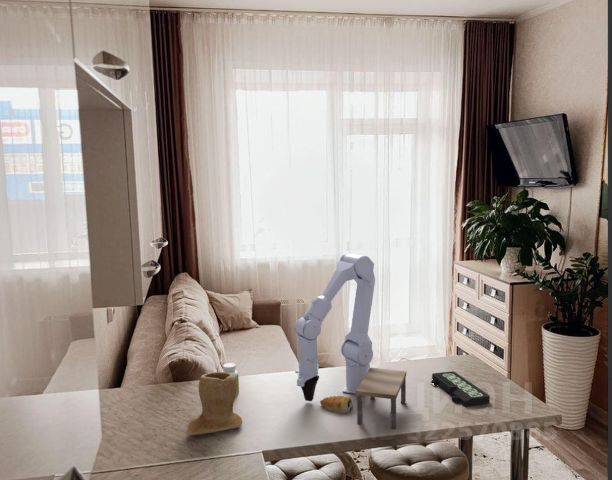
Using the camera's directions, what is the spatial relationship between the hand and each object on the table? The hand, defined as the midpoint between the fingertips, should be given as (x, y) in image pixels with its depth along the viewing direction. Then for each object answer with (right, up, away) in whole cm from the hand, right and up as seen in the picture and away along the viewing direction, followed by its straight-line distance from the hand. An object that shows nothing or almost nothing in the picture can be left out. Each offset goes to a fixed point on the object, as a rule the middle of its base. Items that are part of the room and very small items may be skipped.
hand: (309, 400), depth 159 cm
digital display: (+47, 0, +6) cm, 47 cm away
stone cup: (-27, -4, -13) cm, 30 cm away
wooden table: (+21, -1, -8) cm, 23 cm away
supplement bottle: (-25, -1, +8) cm, 26 cm away
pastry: (+9, -2, -4) cm, 9 cm away
